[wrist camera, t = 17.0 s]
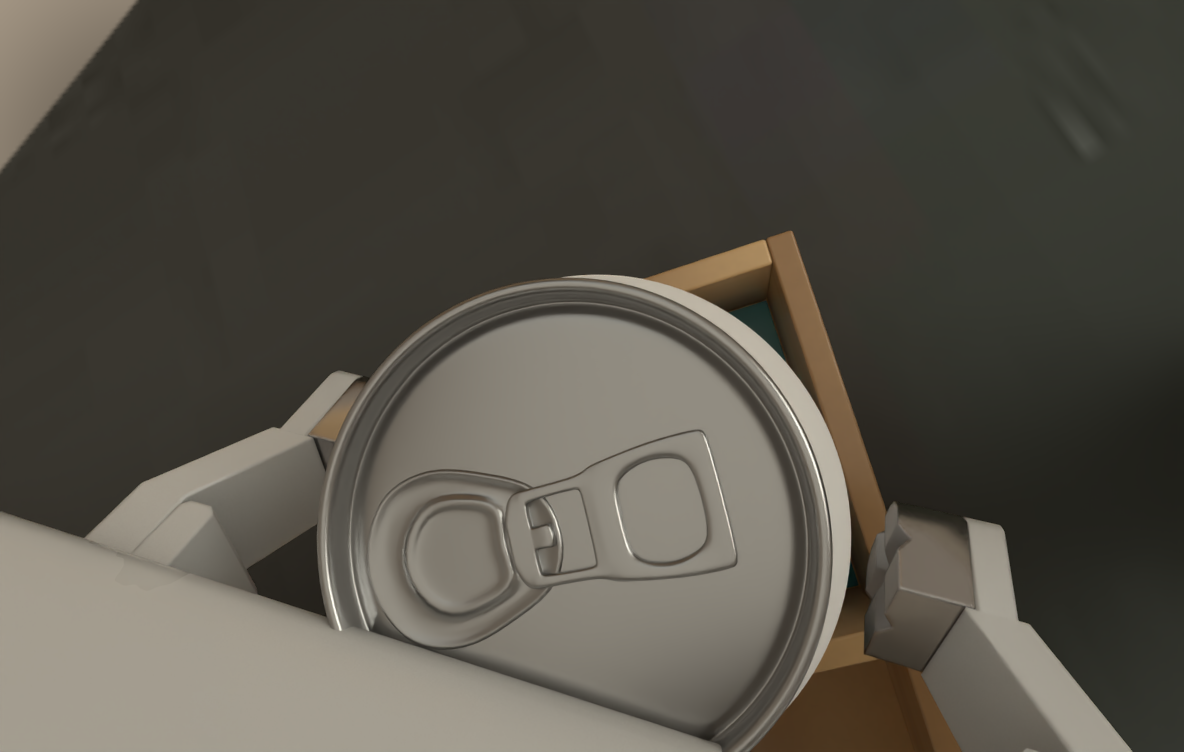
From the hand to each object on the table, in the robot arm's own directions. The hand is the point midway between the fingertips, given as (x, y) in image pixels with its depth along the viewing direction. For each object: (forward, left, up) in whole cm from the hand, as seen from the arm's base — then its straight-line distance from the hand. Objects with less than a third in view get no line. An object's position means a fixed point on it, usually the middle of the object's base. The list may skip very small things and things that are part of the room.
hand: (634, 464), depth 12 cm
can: (0, +1, -8) cm, 8 cm away
